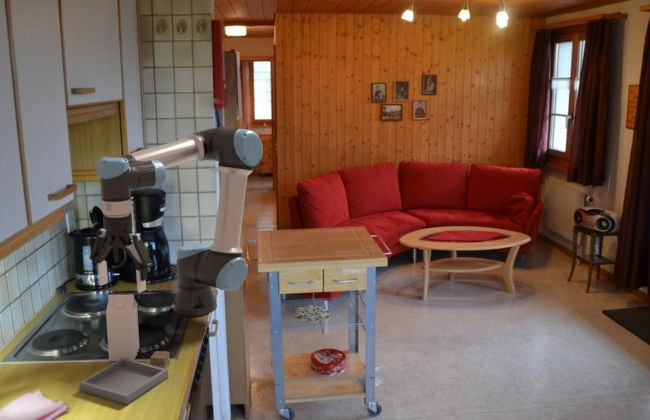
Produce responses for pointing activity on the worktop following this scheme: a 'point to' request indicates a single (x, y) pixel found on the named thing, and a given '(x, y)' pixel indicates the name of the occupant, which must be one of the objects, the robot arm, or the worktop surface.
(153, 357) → the walnut block
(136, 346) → the milk carton
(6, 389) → the worktop surface
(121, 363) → the tray
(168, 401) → the worktop surface
